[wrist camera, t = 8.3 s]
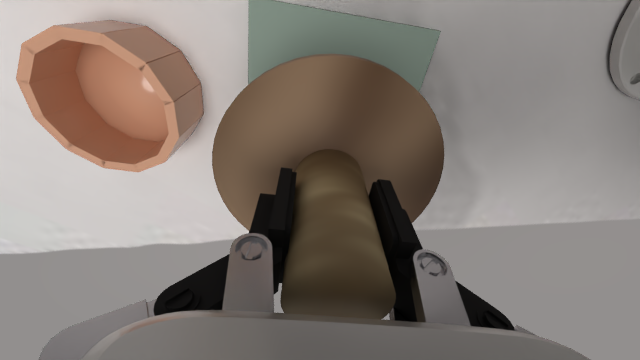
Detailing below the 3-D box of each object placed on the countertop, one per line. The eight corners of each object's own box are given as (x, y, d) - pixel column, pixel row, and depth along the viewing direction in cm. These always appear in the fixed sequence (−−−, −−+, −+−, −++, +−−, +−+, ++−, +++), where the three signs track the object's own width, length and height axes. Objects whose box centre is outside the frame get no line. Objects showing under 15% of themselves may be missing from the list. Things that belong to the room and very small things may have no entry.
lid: (479, 76, 12) (666, 161, 6) (397, 253, 19) (441, 387, 12) (208, 31, 11) (57, 74, 5) (222, 237, 18) (168, 375, 11)
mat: (437, 30, 20) (440, 31, 20) (384, 181, 28) (386, 185, 27) (250, -4, 19) (248, -4, 19) (249, 164, 27) (247, 167, 26)
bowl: (196, 34, 20) (164, 43, 16) (206, 149, 26) (185, 178, 22) (57, 11, 20) (-14, 14, 15) (98, 135, 25) (54, 161, 21)
